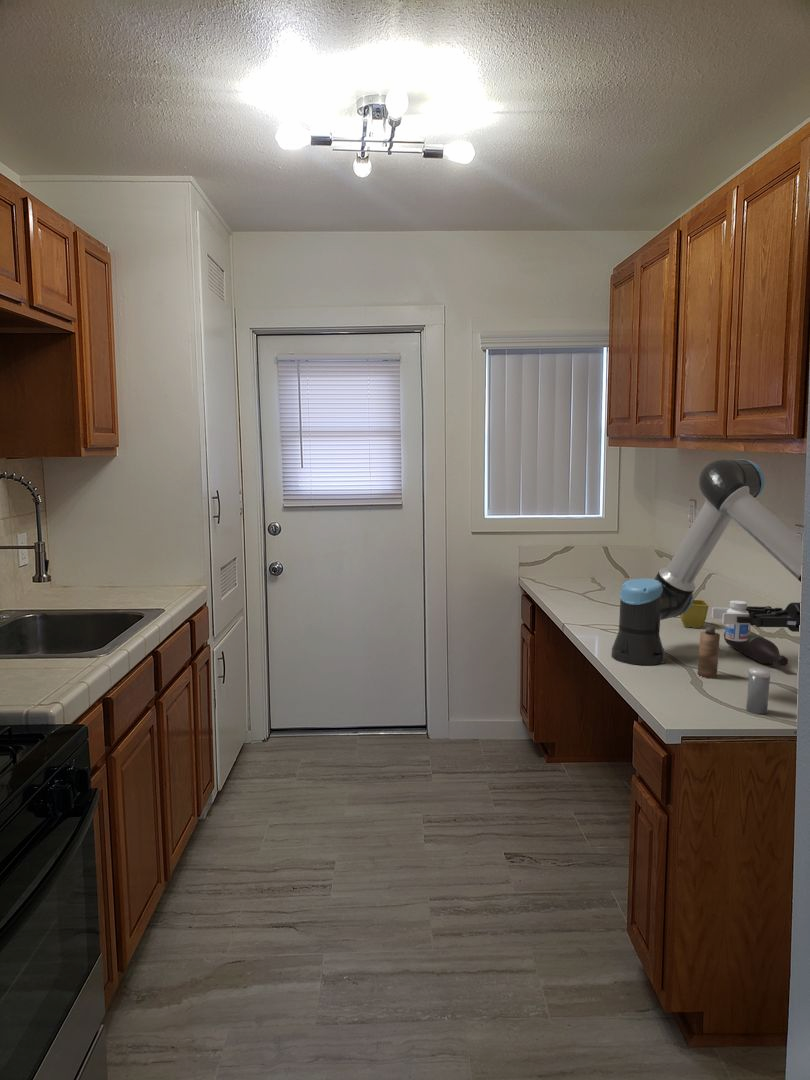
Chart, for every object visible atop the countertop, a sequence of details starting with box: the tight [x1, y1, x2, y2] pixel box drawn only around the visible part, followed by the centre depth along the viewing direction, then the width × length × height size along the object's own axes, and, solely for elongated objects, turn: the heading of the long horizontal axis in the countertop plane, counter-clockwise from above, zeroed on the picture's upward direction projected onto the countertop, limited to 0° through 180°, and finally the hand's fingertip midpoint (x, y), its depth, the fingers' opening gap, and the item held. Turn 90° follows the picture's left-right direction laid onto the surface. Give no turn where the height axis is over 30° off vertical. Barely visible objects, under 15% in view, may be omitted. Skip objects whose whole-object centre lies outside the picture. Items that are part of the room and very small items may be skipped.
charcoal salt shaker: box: [745, 666, 771, 715], centre depth 183 cm, size 5×5×10 cm
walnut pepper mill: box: [697, 626, 721, 679], centre depth 211 cm, size 5×5×14 cm
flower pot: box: [679, 599, 709, 629], centre depth 269 cm, size 9×9×9 cm
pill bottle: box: [724, 600, 750, 641], centre depth 195 cm, size 6×5×10 cm
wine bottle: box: [723, 629, 789, 667], centre depth 229 cm, size 7×7×30 cm
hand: (717, 615), depth 194 cm, fingers closed on pill bottle, 5 cm apart
